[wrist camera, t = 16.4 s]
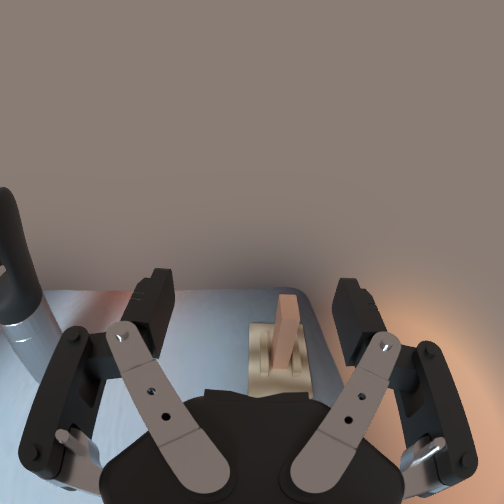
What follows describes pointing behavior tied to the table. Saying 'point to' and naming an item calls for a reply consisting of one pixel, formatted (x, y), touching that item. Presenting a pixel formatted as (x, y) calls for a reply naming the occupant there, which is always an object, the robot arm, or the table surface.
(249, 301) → the table surface
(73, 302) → the table surface
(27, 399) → the table surface
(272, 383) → the plate
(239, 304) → the table surface
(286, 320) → the block
